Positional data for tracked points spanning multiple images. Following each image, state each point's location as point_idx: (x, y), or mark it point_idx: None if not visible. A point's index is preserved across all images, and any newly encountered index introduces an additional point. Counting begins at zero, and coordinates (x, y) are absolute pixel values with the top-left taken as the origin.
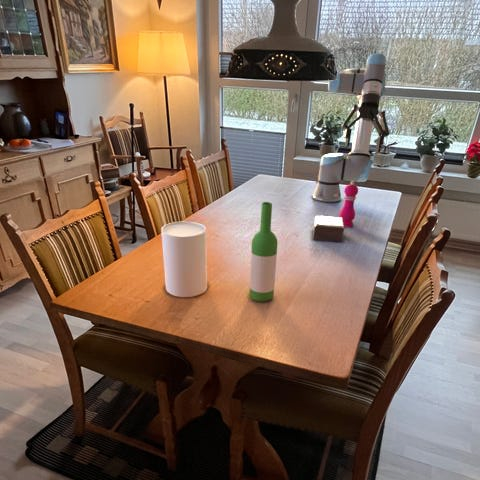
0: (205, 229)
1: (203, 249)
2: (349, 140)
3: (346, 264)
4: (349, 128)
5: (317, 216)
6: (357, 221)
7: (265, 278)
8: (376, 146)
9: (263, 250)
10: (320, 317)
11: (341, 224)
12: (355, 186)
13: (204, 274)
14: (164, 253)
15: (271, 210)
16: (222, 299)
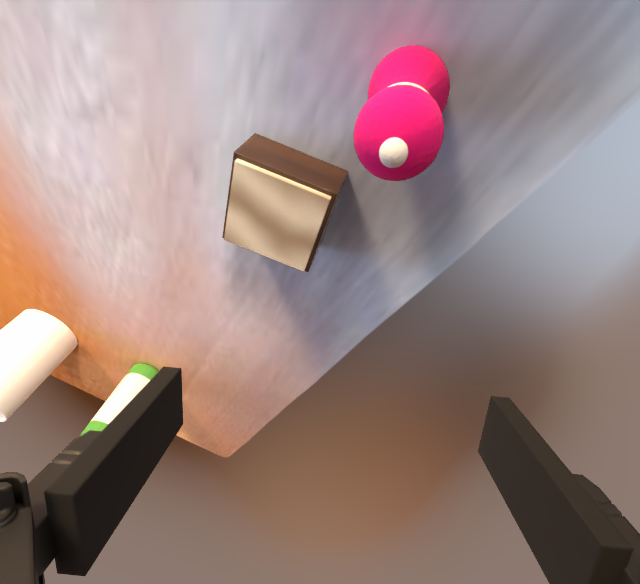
0: (2, 412)
1: (28, 395)
2: (156, 455)
3: (288, 338)
4: (43, 568)
5: (236, 171)
6: (508, 27)
7: None
8: (523, 447)
9: None
10: (218, 415)
11: (302, 260)
12: (407, 170)
13: (58, 363)
14: None
15: None
16: (105, 362)
